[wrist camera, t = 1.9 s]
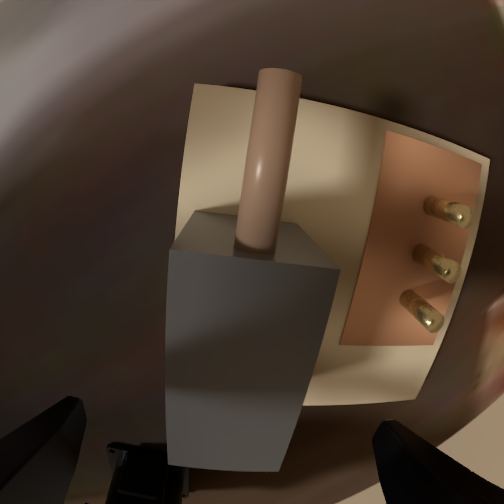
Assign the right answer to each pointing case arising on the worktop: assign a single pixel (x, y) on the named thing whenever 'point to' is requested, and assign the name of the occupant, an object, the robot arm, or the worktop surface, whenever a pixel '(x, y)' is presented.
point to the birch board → (350, 228)
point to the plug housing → (245, 309)
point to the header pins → (436, 260)
